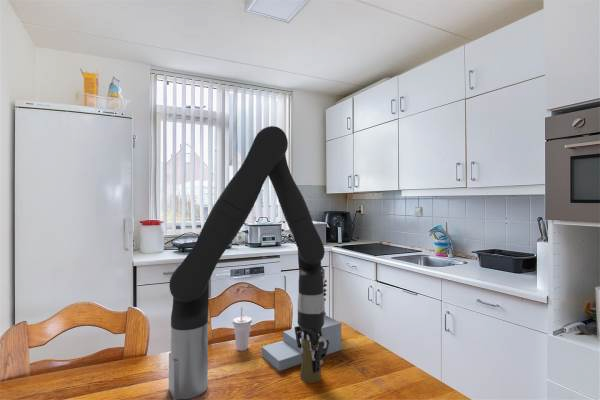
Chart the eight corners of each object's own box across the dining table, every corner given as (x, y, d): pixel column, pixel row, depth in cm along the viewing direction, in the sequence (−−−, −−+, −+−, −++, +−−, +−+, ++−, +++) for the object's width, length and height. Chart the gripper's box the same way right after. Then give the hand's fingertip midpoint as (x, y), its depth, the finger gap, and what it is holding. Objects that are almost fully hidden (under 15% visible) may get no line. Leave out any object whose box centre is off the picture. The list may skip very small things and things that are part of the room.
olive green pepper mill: (321, 371, 92) (321, 333, 92) (321, 383, 86) (321, 342, 86) (301, 370, 92) (301, 332, 92) (299, 382, 86) (299, 341, 86)
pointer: (316, 366, 94) (316, 363, 94) (308, 360, 98) (308, 357, 98) (323, 364, 96) (323, 360, 96) (314, 358, 99) (314, 355, 99)
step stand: (279, 371, 91) (279, 340, 91) (261, 355, 101) (261, 327, 101) (341, 350, 105) (341, 323, 105) (321, 338, 114) (321, 313, 114)
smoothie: (228, 351, 104) (229, 308, 104) (238, 342, 110) (238, 302, 110) (246, 353, 102) (246, 310, 102) (254, 345, 108) (255, 304, 108)
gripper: (286, 303, 93) (286, 362, 93) (315, 318, 81) (315, 385, 81) (307, 299, 97) (307, 355, 97) (337, 312, 85) (337, 376, 85)
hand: (310, 368), depth 89 cm, fingers closed on olive green pepper mill, 4 cm apart
